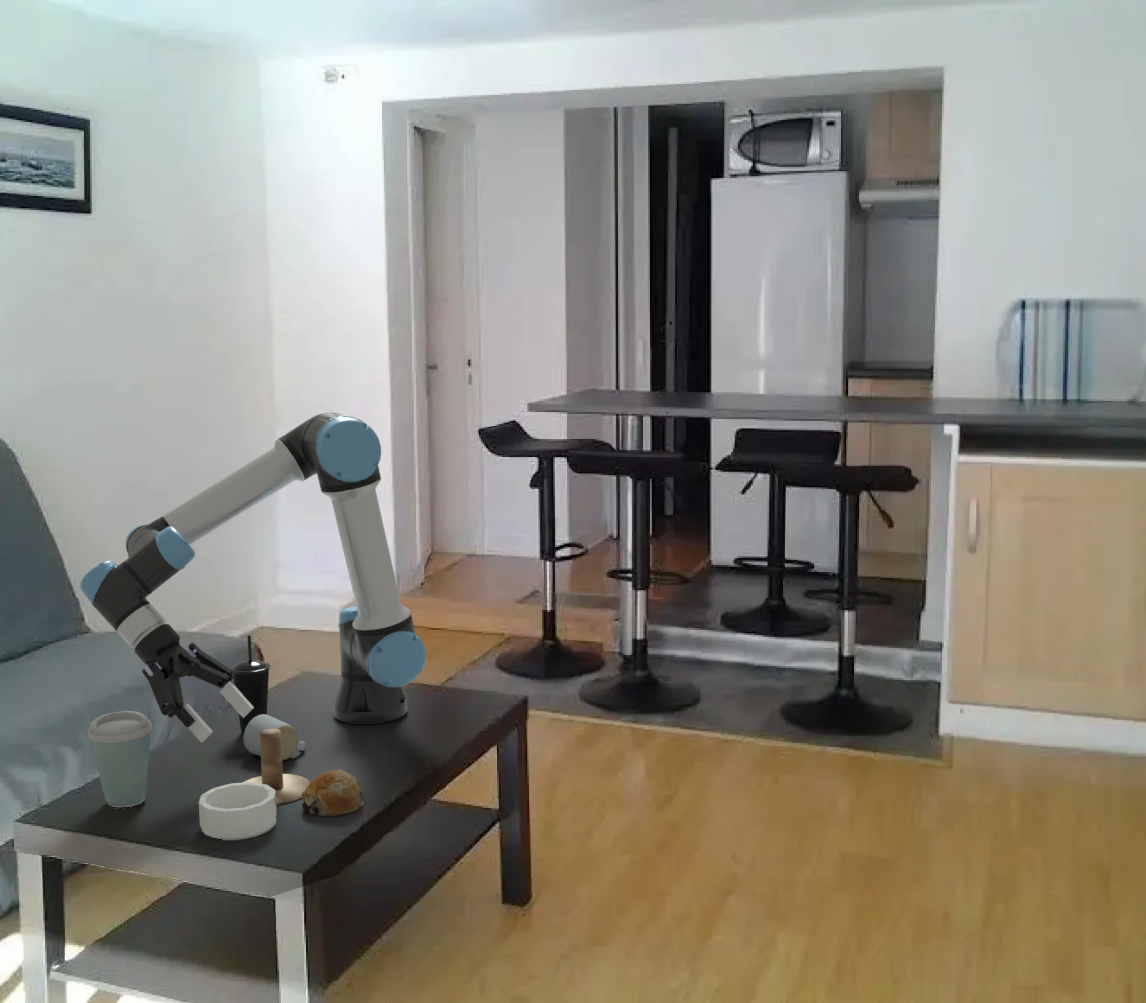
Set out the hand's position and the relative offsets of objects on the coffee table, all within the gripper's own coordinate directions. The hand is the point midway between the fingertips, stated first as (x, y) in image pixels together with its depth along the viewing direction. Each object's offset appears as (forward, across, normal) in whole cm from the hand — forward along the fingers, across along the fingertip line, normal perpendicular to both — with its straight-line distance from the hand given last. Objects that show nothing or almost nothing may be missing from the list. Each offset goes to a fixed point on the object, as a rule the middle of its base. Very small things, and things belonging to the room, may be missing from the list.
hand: (228, 724), depth 224 cm
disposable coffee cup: (-2, +10, -19) cm, 22 cm away
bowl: (+15, +14, -1) cm, 21 cm away
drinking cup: (0, -28, -17) cm, 32 cm away
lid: (+14, -1, -3) cm, 14 cm away
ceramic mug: (+8, -17, -9) cm, 21 cm away
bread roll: (+24, +3, +6) cm, 25 cm away
